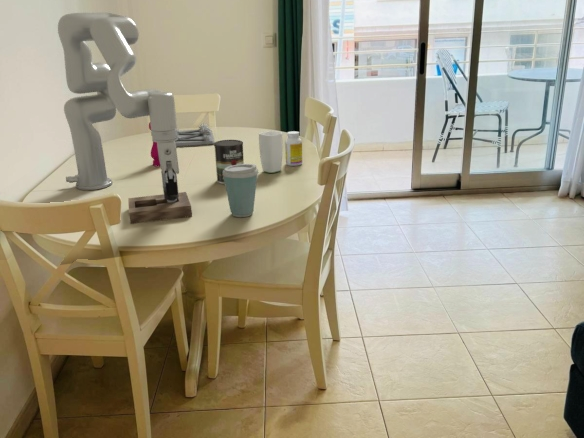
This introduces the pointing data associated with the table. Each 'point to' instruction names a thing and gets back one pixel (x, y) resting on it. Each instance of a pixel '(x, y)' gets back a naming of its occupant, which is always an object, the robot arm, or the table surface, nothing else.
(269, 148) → the cup
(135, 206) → the keyhole plate
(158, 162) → the pepper mill
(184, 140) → the grey piece
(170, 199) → the peg
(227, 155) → the coffee can
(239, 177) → the disposable coffee cup
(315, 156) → the table surface
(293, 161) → the supplement bottle
